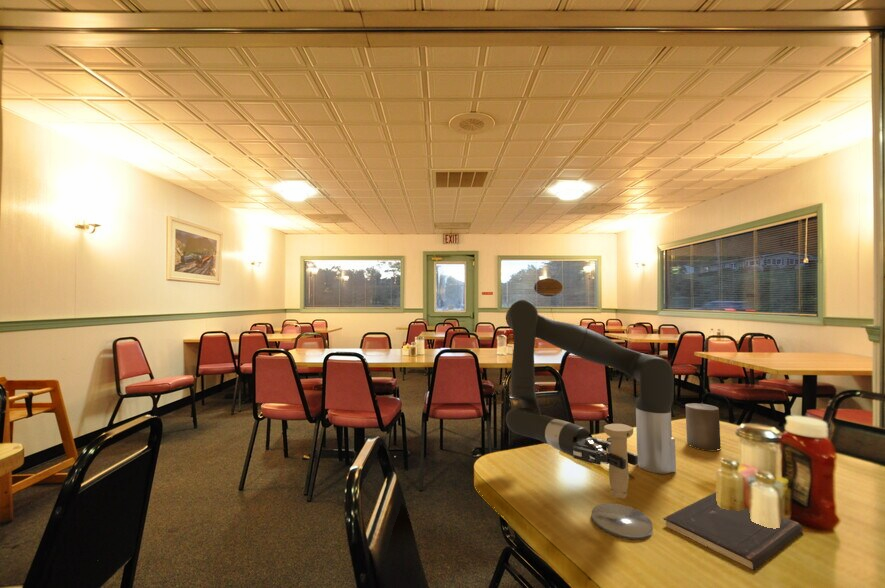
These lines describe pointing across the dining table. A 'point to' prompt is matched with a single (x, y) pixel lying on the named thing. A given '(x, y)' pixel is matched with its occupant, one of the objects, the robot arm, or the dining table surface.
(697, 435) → the pillar candle
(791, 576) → the dining table surface
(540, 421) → the robot arm
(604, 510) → the disk
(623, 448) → the handle
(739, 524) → the hardcover book
